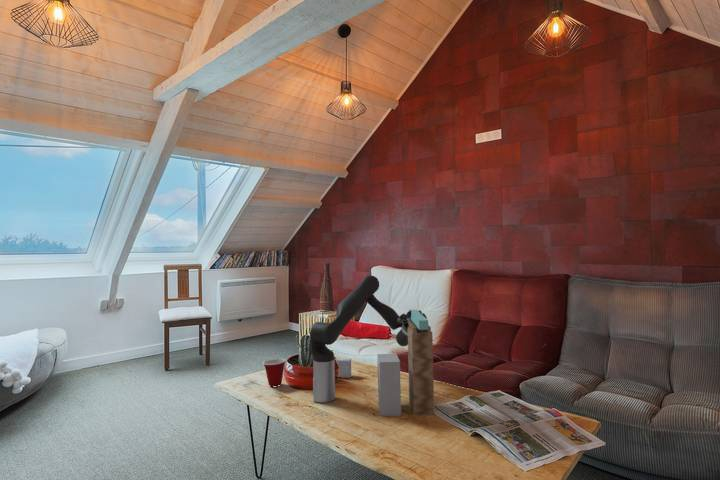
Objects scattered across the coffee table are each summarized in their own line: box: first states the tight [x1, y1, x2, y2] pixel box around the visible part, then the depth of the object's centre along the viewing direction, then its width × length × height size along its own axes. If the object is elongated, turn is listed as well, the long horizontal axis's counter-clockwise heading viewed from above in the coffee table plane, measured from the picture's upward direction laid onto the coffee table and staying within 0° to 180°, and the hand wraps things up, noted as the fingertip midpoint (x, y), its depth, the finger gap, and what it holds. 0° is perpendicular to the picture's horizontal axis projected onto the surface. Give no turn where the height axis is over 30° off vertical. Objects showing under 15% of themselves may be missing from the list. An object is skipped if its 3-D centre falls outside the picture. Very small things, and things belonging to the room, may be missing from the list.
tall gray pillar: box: [376, 353, 402, 417], centre depth 169 cm, size 8×12×21 cm, turn 2°
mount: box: [407, 322, 435, 416], centre depth 170 cm, size 8×12×34 cm, turn 2°
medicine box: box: [336, 358, 352, 379], centre depth 212 cm, size 8×4×9 cm, turn 84°
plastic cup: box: [262, 358, 287, 386], centre depth 201 cm, size 11×11×12 cm
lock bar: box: [408, 309, 429, 330], centre depth 173 cm, size 4×26×4 cm, turn 2°
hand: (415, 312), depth 180 cm, fingers closed on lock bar, 3 cm apart
